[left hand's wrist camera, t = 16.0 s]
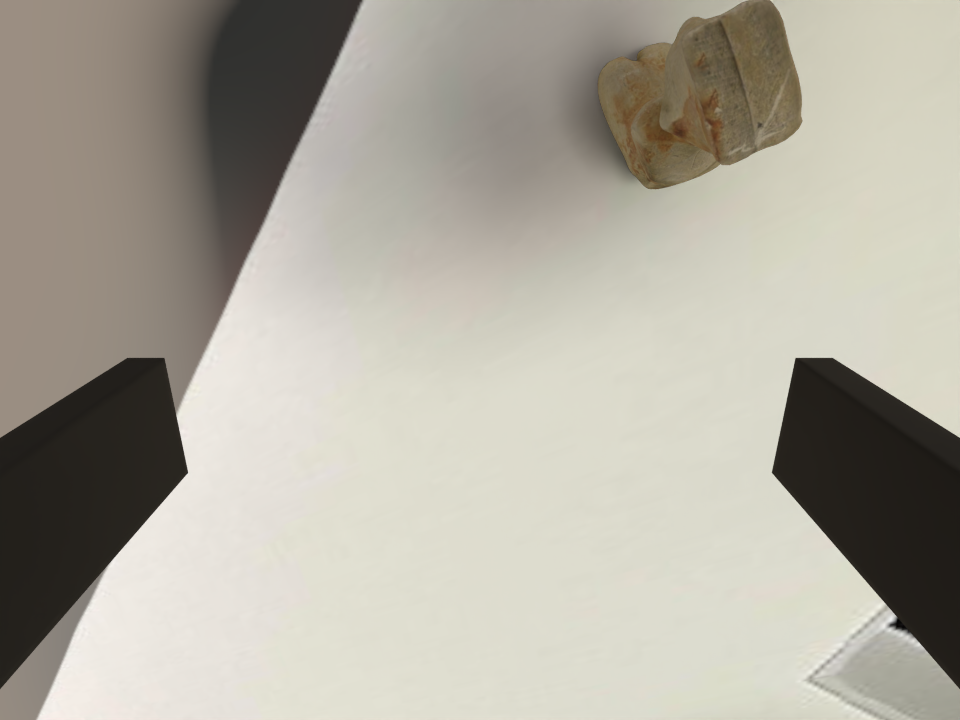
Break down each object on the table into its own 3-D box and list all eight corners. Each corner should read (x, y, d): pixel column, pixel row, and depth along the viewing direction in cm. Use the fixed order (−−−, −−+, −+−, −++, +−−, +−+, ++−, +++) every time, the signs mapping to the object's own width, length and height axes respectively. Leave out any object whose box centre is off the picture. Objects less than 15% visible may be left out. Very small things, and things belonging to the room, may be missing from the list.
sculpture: (678, 34, 33) (827, -42, 19) (705, 162, 35) (854, 179, 21) (578, 73, 33) (649, 27, 19) (611, 195, 36) (695, 234, 22)
